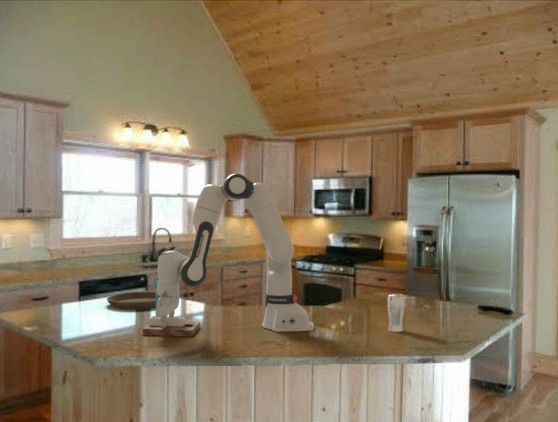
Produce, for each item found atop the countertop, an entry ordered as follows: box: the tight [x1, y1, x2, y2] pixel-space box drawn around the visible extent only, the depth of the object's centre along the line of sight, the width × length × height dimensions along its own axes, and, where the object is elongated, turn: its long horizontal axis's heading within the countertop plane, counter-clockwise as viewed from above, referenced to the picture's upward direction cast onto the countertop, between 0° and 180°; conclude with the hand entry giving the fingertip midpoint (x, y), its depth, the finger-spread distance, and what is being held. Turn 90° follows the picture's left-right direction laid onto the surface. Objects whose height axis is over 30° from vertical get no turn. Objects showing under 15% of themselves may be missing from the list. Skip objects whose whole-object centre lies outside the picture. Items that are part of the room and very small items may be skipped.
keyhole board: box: [142, 320, 201, 337], centre depth 195 cm, size 20×14×2 cm
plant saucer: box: [106, 291, 156, 311], centre depth 246 cm, size 31×31×5 cm
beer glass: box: [387, 293, 405, 333], centre depth 202 cm, size 7×7×15 cm
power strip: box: [149, 315, 186, 326], centre depth 195 cm, size 14×3×6 cm, turn 87°
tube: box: [153, 277, 160, 316], centre depth 214 cm, size 7×5×19 cm, turn 123°
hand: (167, 323), depth 195 cm, fingers open, 8 cm apart
